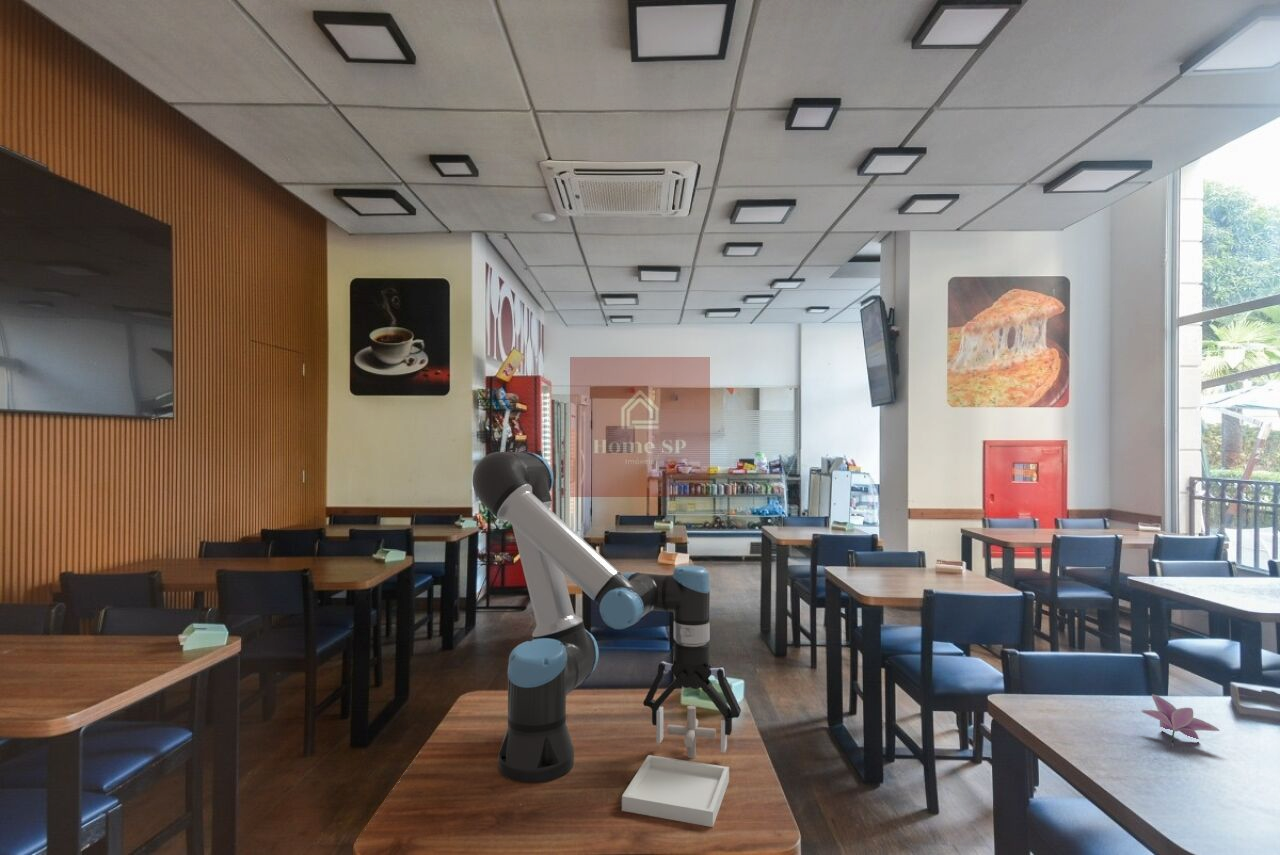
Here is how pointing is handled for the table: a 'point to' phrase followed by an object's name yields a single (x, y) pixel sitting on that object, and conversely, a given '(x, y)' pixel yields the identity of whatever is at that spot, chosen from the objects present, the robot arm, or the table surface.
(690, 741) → the pipe connector
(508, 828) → the table surface
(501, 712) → the table surface
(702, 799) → the tray
